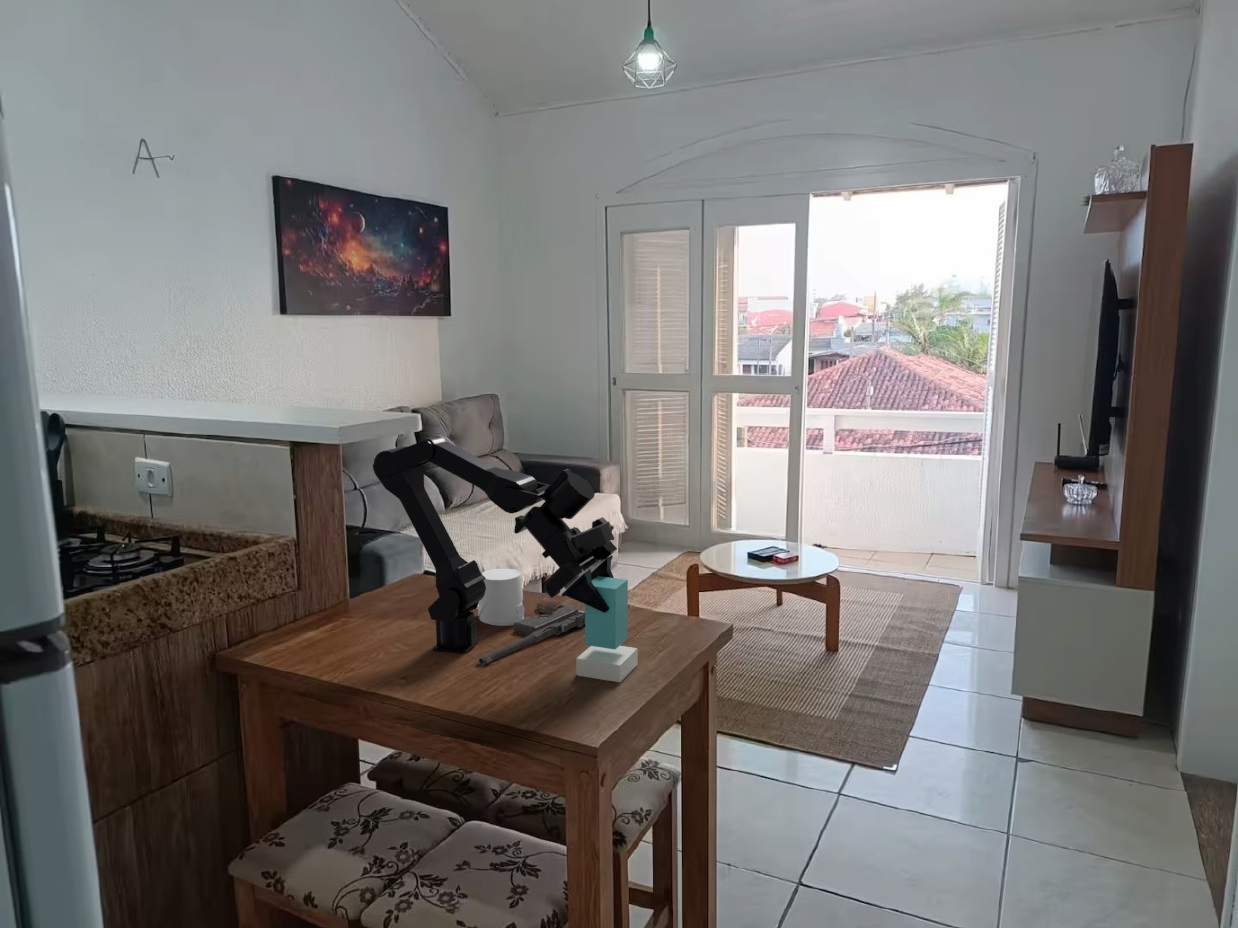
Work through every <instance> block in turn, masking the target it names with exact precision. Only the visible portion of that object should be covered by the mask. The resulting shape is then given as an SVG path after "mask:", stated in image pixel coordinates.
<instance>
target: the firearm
mask: <svg viewBox="0 0 1238 928" xmlns="http://www.w3.org/2000/svg"><path fill="white" fill-rule="evenodd" d="M536 609H537V610H538V611H539V612H540V613H543V614H542V615H538V616H535V617H533V616H529V615H528V616H526V617H524V619H521V620H519V621H517V622H515V623H514V625H513V628H512V629H513V632H514V633H518V634H522V635H525V637H522V638H521V639H518V640H516V641H514V642H511V643H509V644H507V645H505V646H502V647H499V648H498V649H496V650H493V651H491V652H488V653H486V654H484V655H482V656H479V657H478V664H479V665H482V666H485V665H486V664H489V663H491V662H493V661H496V660H498V659H500V658H503V657H505V656H507V655H509V654H511V653H513V652H516V651H517V650H519V649H520V650H521V649H522V648H525V647H527V646H529V645H532V644H535V643H537V642H540V641H542V640H545V639H546V638H548V637H550V636H558V635H560V634H562V633H565V632H568V631H569V630H571V629H573V628H575V627H576V628H582V627H583V626H584V625H585V610H580V606H578V605H563V604H562V603H561V602H559V601H557V600H556V599H554V598H552V599H551V598H550V597H549V598H548V597H542V598H540V599H539V600H538V601H537V603H536ZM527 635H528V636H527Z"/></svg>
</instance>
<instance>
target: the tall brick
mask: <svg viewBox="0 0 1238 928" xmlns="http://www.w3.org/2000/svg"><path fill="white" fill-rule="evenodd" d="M628 581H629V580H628V579H625V578H624V579H623V578H616V577H614V578H609V577H601V576H598V577H596V578H595V579H593V580H592V583H593V585H594V586H595V588H596V589H597V590H598V592H599V593H600V595H601V596H602V598H603V599H604V600H605V602H606V604H607V605H608V607H609V610H608V611H607V612H606V613H604V612H602V611H599V610H597V609H595V608H593V607H591V606H588V605H586V604H584V612H585V624H584V625H585V628H584V629H585V631H584V632H585V634H584V635H585V636H584V637H585V639H584V640H585V646H589V647H590V646H596V647H602V648H608V649H615V650H616V649H617V648H618V647H619V646H622V645H623V643H624V642H626V640H627V639H628V638H629V637H628V635H629V633H628V632H629V631H628V627H629V625H628V624H629V622H628V621H629V619H628V616H629V615H628V613H629V612H628V611H629V610H628V608H629V607H628V605H629V600H628V599H629V588H628V587H629V582H628Z"/></svg>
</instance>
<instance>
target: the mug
mask: <svg viewBox="0 0 1238 928" xmlns="http://www.w3.org/2000/svg"><path fill="white" fill-rule="evenodd" d="M481 573H482V575H483V576H484V577H485V578H486V579H485V580H483V581H484V582H485V585H486V590H485V594H484V597H483V598H482V599H481V600H480V601H479V604H478V607H477V608H476V609H475V610H478V612H477V617H478V619H479V620H480V622H482V623H484V624H486V625H487V624H488V625H490V626H491V625H492V626H499V627H500V626H501V627H502V626H503V627H504V626H505V627H507V626H514V623H515V622H517V621H519V620H521V619H524V618H525V613H526V610H525V609H526V608H525V606H524V604H523V601H524V593H523V584H522V576H521V572H520V571H519V570H517V569H514V568H513V569H512V568H492V569H488V570H485V571H482V572H481Z"/></svg>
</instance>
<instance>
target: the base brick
mask: <svg viewBox="0 0 1238 928" xmlns="http://www.w3.org/2000/svg"><path fill="white" fill-rule="evenodd" d="M638 650H639V649H638V648H637V647H630V646H624V645H620V646H619V647H618V648H617V649H616V650H615V649H608V648H602V647H596V646H589V647H588V648H586V650H585V651H583V652H582V653H581V654H579V655H578V656H577V657H576V658H575V659H576V660H575V661H576V667H575V668H576V676H579V677H583V678H584V677H585V678H593V679H598V680H602V681H609V682H615V683H621V682H622V681H623V680H624V679H625V678H626V677H627V676H628V675H629V674H630V673H631V672H632V671H633V670H635V668H636V667H637V666H638V662H639V661H638V656H639V655H638V654H639V653H638Z"/></svg>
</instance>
